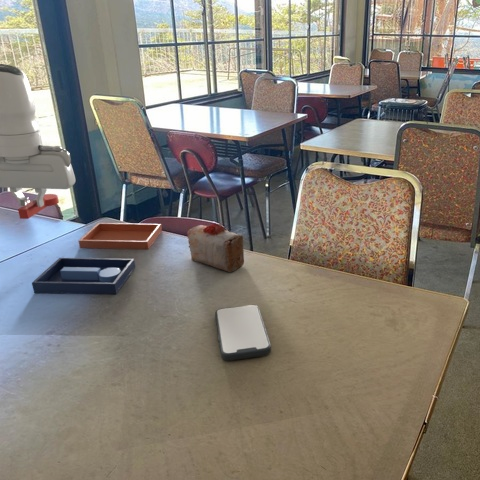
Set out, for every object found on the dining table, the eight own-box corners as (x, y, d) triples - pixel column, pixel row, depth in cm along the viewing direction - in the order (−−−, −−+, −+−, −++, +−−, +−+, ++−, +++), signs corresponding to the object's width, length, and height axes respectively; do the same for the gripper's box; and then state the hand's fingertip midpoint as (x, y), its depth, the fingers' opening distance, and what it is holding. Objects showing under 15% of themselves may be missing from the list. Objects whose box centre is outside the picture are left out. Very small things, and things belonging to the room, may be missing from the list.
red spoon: (34, 219, 105) (32, 209, 104) (13, 218, 105) (11, 209, 104) (62, 200, 117) (60, 191, 116) (43, 199, 117) (41, 191, 116)
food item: (184, 261, 117) (181, 223, 113) (207, 250, 123) (204, 214, 119) (227, 275, 111) (225, 236, 107) (249, 263, 117) (248, 225, 113)
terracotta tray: (80, 249, 122) (78, 240, 121) (99, 231, 133) (98, 222, 132) (148, 250, 122) (147, 241, 121) (162, 232, 133) (161, 223, 132)
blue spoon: (58, 282, 105) (56, 273, 104) (68, 272, 109) (67, 264, 108) (117, 283, 105) (115, 274, 104) (124, 273, 109) (123, 265, 108)
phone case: (214, 315, 96) (221, 363, 82) (214, 308, 95) (221, 355, 81) (258, 310, 98) (272, 356, 84) (258, 303, 97) (272, 348, 83)
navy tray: (34, 293, 101) (31, 282, 100) (61, 267, 113) (59, 257, 112) (116, 294, 102) (114, 284, 101) (135, 268, 113) (134, 258, 112)
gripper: (74, 143, 106) (84, 202, 111) (-21, 140, 105) (-6, 200, 110) (60, 149, 100) (72, 212, 105) (-40, 146, 99) (-23, 209, 105)
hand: (31, 206), depth 108 cm, fingers closed on red spoon, 2 cm apart
